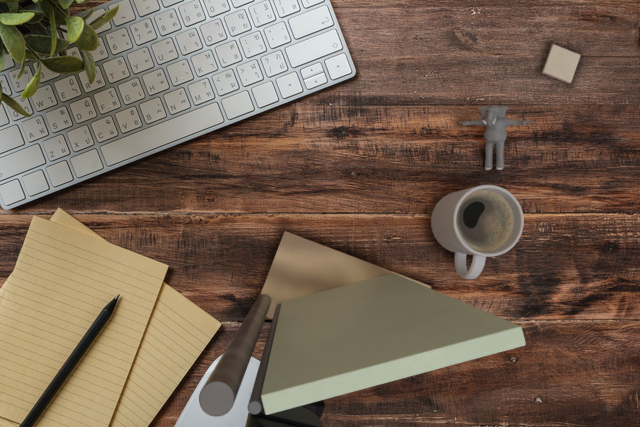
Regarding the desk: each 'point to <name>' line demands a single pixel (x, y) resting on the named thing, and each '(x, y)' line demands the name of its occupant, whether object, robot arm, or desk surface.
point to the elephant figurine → (494, 132)
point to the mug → (477, 225)
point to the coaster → (561, 64)
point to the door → (369, 340)
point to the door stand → (281, 284)
